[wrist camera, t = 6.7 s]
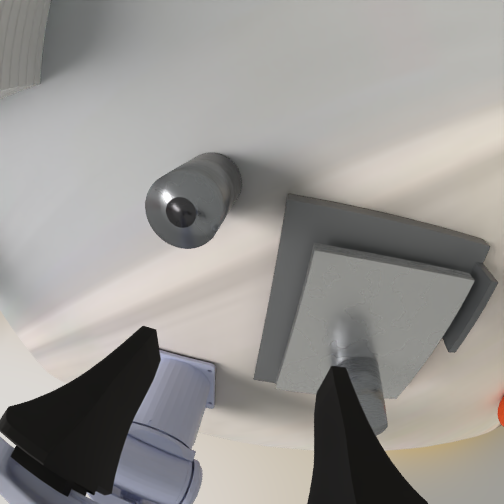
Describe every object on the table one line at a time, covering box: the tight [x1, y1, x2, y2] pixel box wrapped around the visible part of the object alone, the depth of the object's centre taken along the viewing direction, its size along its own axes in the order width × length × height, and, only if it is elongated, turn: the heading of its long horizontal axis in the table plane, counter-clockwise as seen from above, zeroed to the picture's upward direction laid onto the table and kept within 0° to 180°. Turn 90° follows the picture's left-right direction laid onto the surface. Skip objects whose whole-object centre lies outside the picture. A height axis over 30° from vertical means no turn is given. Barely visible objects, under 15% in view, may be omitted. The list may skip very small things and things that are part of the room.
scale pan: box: [275, 243, 475, 399], centre depth 20 cm, size 14×12×2 cm
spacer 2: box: [336, 357, 387, 435], centre depth 18 cm, size 4×4×6 cm
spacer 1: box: [145, 153, 242, 249], centre depth 16 cm, size 4×4×6 cm
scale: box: [254, 194, 498, 383], centre depth 20 cm, size 18×16×4 cm
